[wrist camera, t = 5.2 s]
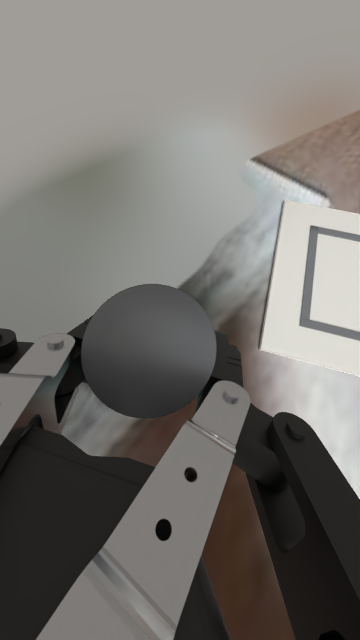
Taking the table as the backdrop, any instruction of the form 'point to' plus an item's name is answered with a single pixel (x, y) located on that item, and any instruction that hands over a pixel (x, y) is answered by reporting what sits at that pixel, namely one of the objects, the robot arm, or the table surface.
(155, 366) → the teal jar
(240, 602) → the table surface
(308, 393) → the table surface
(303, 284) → the card
